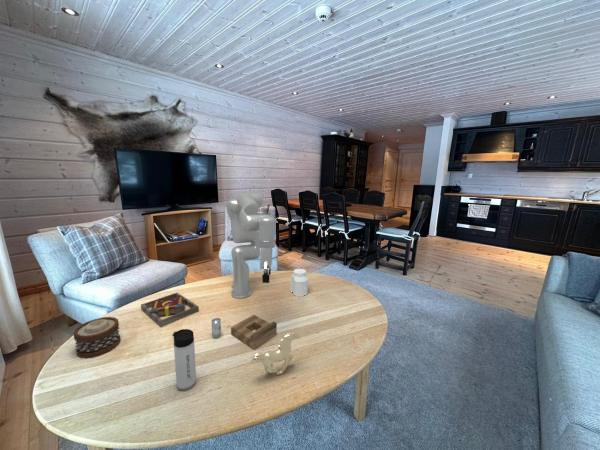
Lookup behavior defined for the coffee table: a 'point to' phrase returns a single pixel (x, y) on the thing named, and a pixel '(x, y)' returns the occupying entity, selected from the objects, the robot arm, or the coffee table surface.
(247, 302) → the coffee table surface
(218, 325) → the blue-grey domed cylinder
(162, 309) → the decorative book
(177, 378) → the travel mug
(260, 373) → the coffee table surface
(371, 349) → the coffee table surface
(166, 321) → the book frame
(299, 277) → the jar
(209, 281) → the coffee table surface
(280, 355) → the unicorn
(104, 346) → the brown drum
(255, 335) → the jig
